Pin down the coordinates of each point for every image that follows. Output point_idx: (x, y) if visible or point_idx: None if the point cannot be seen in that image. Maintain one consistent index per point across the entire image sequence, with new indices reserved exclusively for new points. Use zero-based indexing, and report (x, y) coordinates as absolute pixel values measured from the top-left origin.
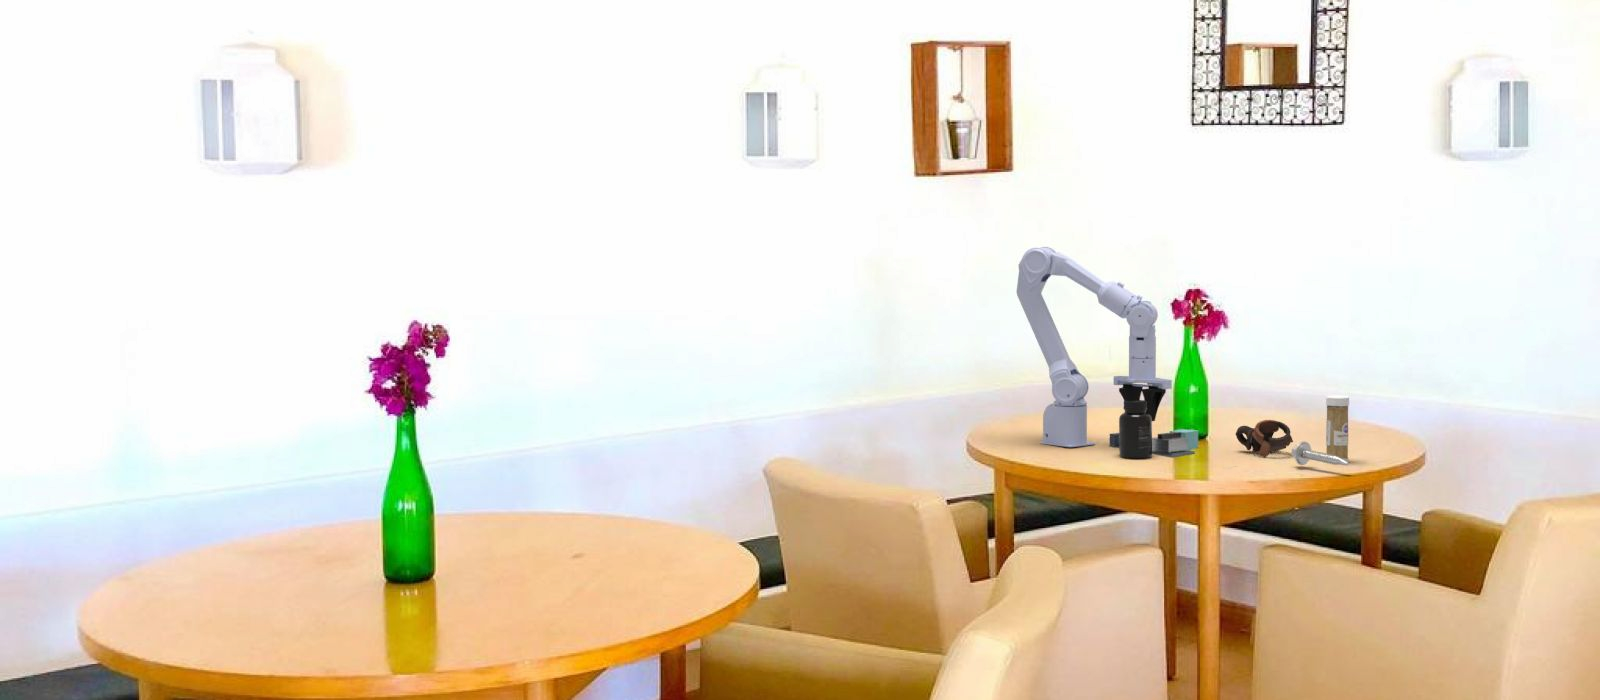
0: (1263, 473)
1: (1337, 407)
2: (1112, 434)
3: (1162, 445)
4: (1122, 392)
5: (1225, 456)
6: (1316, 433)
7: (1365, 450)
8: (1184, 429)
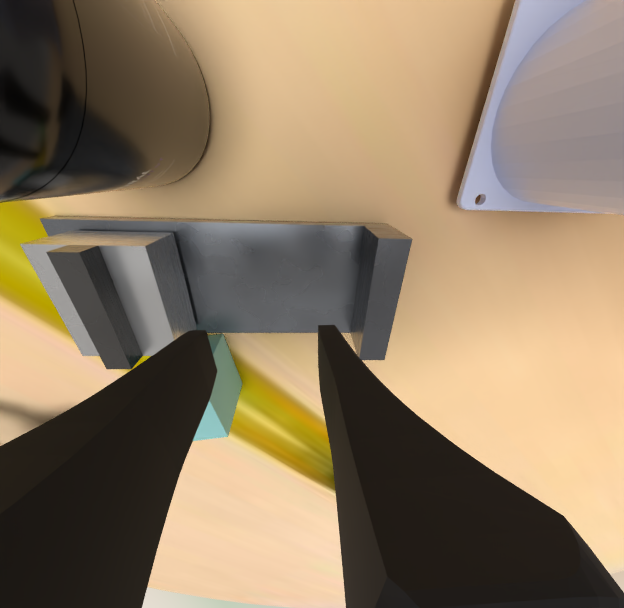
0: None
1: None
2: (392, 238)
3: (89, 237)
4: (471, 502)
5: (46, 363)
6: (268, 572)
7: None
8: (217, 436)
